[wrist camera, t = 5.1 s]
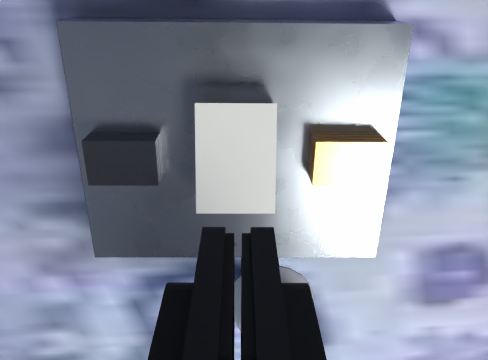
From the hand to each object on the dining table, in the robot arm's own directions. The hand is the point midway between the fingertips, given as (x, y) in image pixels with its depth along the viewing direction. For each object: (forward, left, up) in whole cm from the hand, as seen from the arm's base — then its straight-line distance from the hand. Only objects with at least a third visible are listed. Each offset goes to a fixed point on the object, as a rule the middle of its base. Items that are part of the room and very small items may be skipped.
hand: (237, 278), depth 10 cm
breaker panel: (0, 0, -11) cm, 11 cm away
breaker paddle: (0, 0, -9) cm, 9 cm away
